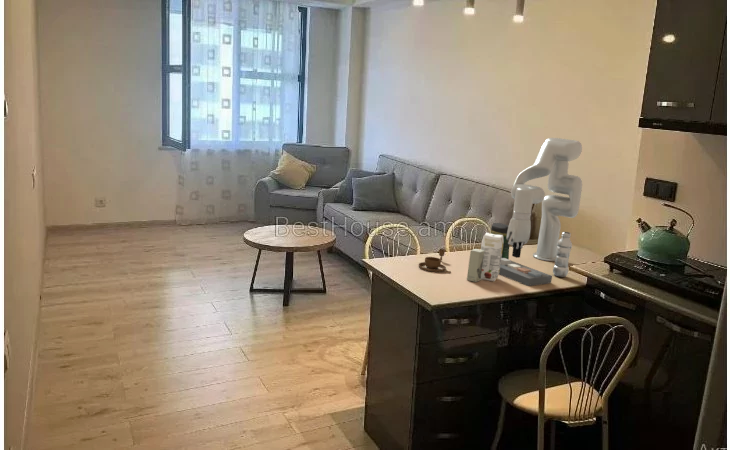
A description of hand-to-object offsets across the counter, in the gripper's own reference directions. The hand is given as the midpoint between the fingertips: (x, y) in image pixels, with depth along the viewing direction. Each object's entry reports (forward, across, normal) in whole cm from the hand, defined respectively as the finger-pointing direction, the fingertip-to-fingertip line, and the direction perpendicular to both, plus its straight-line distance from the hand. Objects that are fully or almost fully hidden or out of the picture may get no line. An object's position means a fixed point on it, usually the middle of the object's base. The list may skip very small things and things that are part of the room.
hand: (516, 256), depth 279 cm
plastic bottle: (+8, -19, +9) cm, 23 cm away
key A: (+6, +1, 0) cm, 6 cm away
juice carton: (+8, +18, +2) cm, 19 cm away
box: (+7, +26, +2) cm, 27 cm away
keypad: (+8, +1, +3) cm, 8 cm away
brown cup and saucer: (+8, +29, -18) cm, 35 cm away
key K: (+5, +1, -6) cm, 7 cm away
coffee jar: (+8, -6, -17) cm, 20 cm away
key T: (+6, +1, +6) cm, 9 cm away
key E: (+6, +1, +12) cm, 14 cm away
